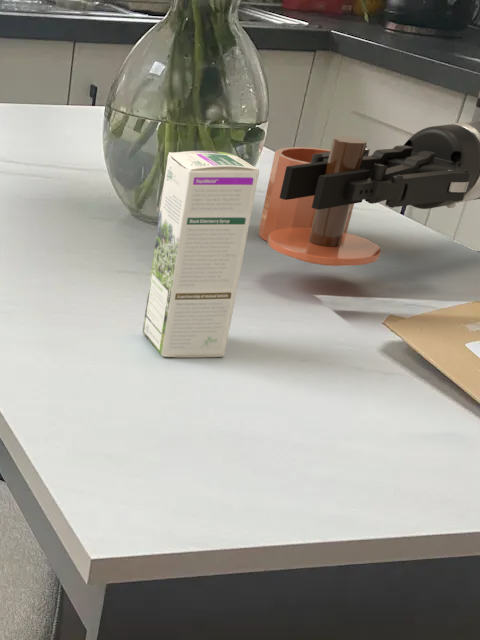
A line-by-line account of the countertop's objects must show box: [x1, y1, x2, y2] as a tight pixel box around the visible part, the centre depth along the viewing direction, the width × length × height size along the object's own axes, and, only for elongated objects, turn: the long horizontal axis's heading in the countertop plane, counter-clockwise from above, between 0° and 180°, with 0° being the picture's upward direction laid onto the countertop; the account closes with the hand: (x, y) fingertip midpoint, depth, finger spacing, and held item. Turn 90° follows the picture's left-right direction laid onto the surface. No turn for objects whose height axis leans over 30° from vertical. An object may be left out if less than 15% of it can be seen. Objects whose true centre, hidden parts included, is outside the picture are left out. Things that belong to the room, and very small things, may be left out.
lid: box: [267, 136, 382, 267], centre depth 100 cm, size 11×11×10 cm
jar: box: [258, 146, 355, 243], centre depth 117 cm, size 9×9×8 cm
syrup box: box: [141, 150, 260, 359], centre depth 85 cm, size 6×6×14 cm
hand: (302, 187), depth 97 cm, fingers closed on lid, 3 cm apart
